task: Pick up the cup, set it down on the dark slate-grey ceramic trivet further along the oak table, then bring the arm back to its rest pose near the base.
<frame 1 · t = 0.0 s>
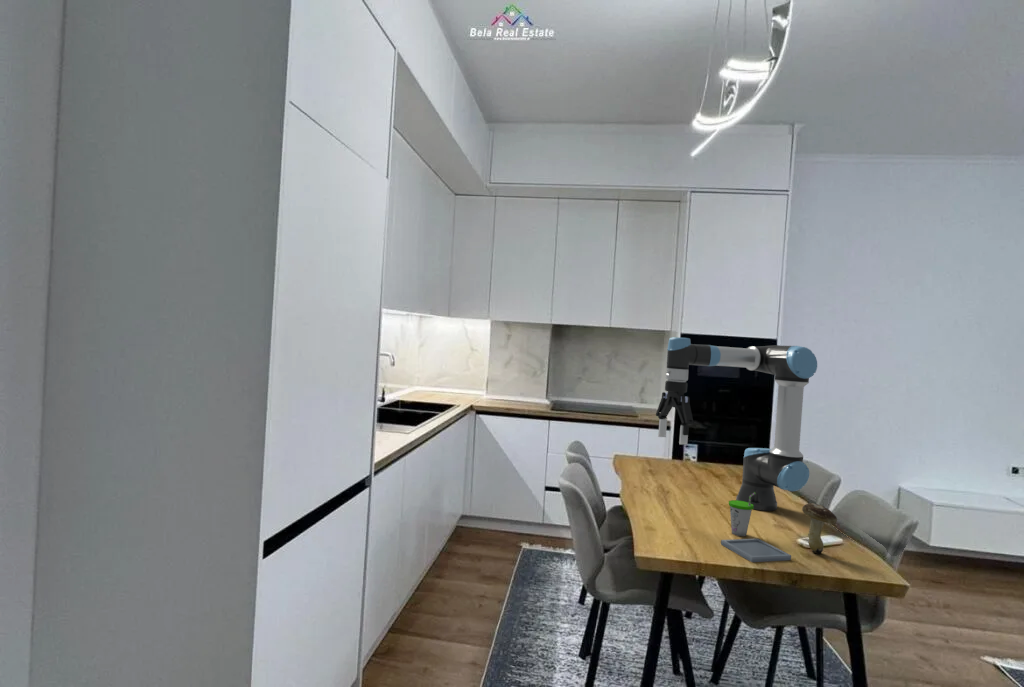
hand: (672, 440, 199), 28 cm above the table, fingers open, 13 cm apart
mushroom: (815, 553, 175), on the table
trivet: (754, 552, 172), on the table
cup: (738, 534, 188), on the table
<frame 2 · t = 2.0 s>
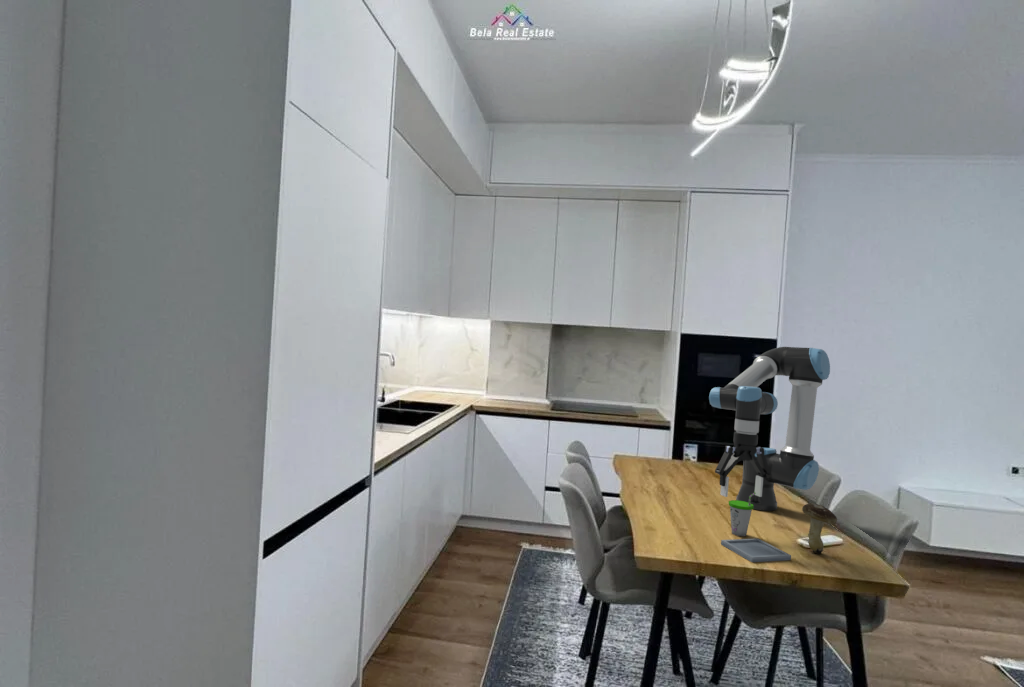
hand: (741, 495, 188), 13 cm above the table, fingers open, 13 cm apart
nothing on the table moved.
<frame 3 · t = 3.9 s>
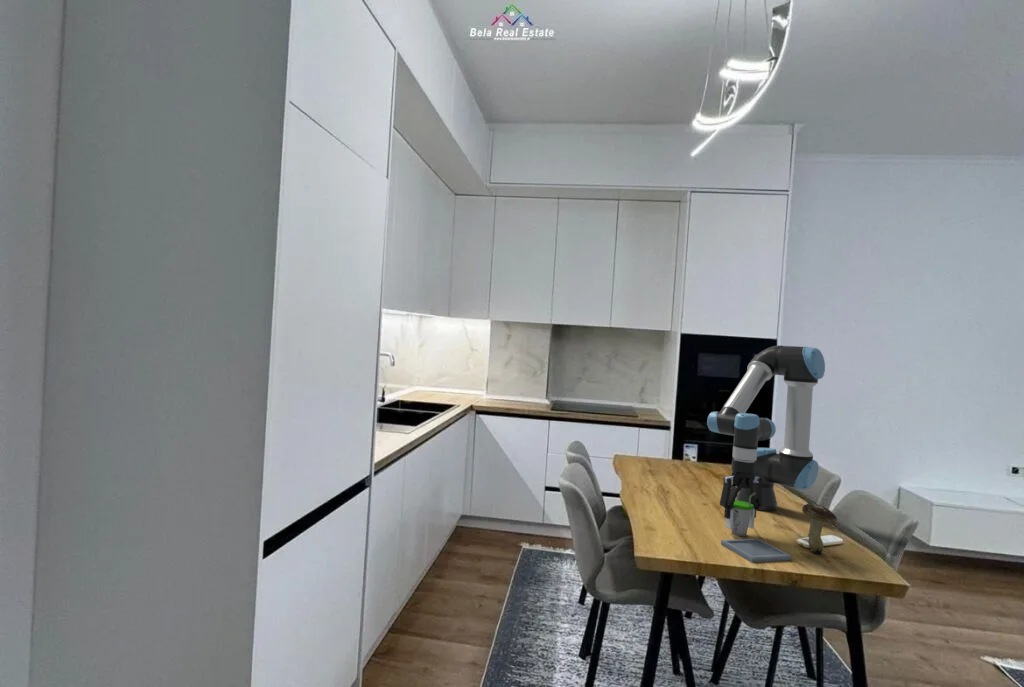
hand: (739, 527, 188), 2 cm above the table, fingers closed on cup, 8 cm apart
cup: (738, 534, 188), on the table, touching gripper
everything else where it was.
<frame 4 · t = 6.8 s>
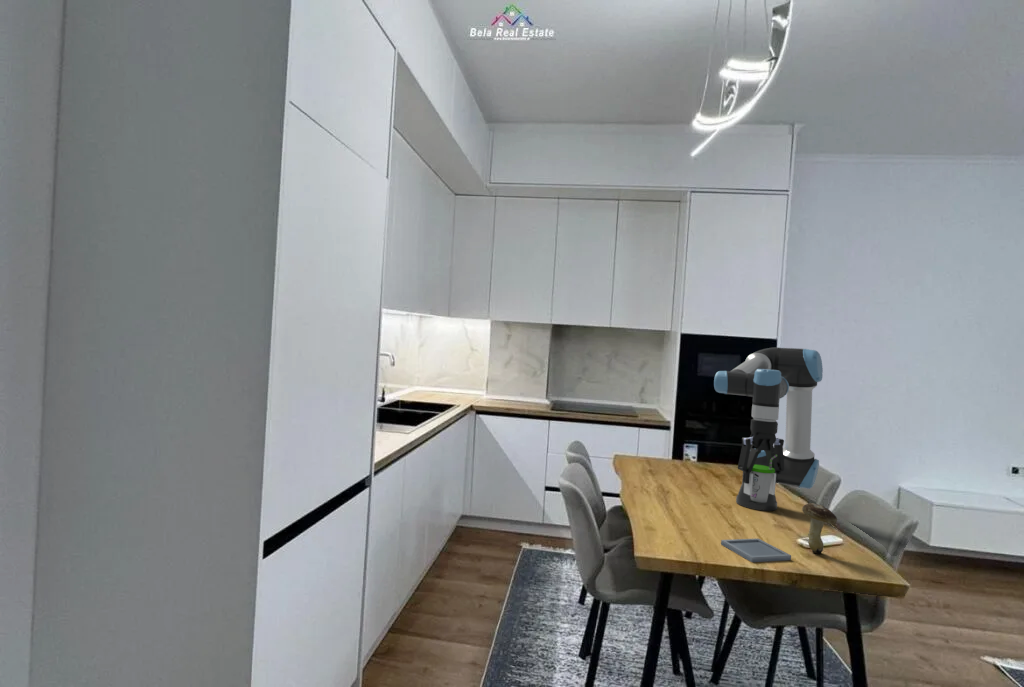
hand: (759, 493, 172), 18 cm above the table, fingers closed on cup, 8 cm apart
cup: (758, 501, 172), point 16 cm above the table, touching gripper
everything else where it was.
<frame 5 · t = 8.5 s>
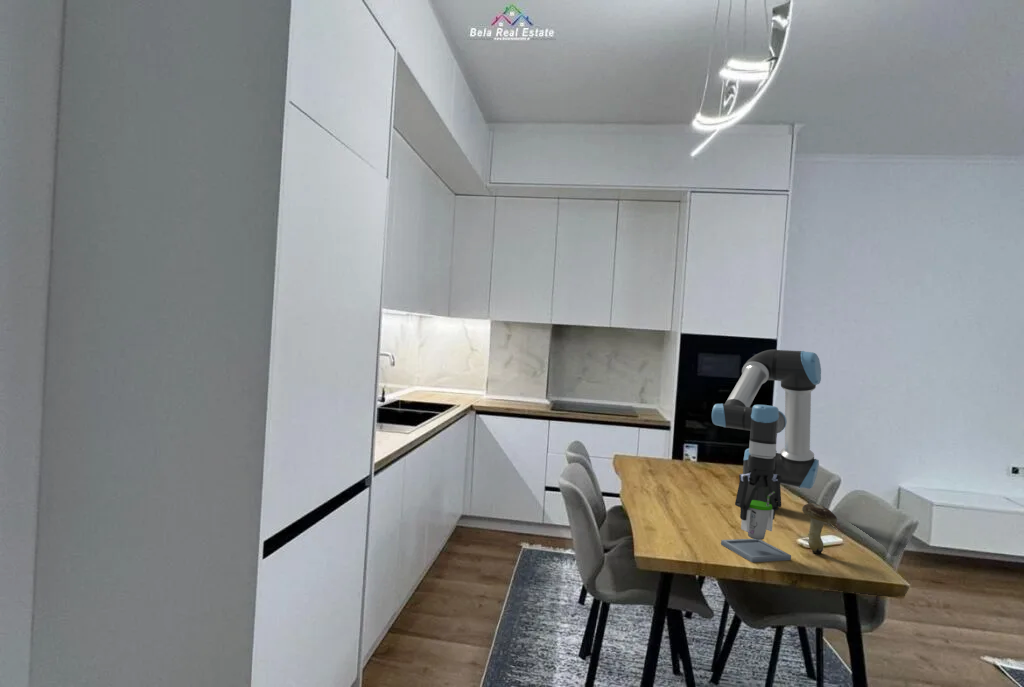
hand: (756, 529, 172), 7 cm above the table, fingers closed on cup, 8 cm apart
cup: (755, 537, 172), point 4 cm above the table, touching gripper
everything else where it was.
when the fingers open (4 cm above the table, at t = 9.9 s): cup drops 1 cm, resting on trivet.
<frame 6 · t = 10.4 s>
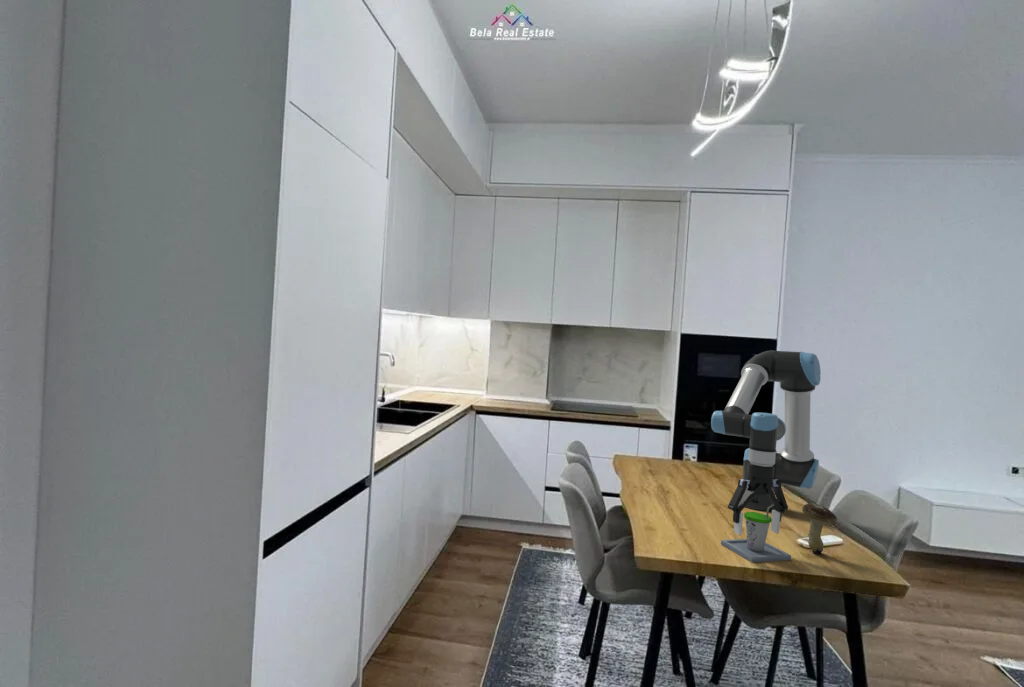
hand: (756, 532, 172), 6 cm above the table, fingers open, 13 cm apart
cup: (755, 549, 172), point 1 cm above the table, touching trivet
everything else where it was.
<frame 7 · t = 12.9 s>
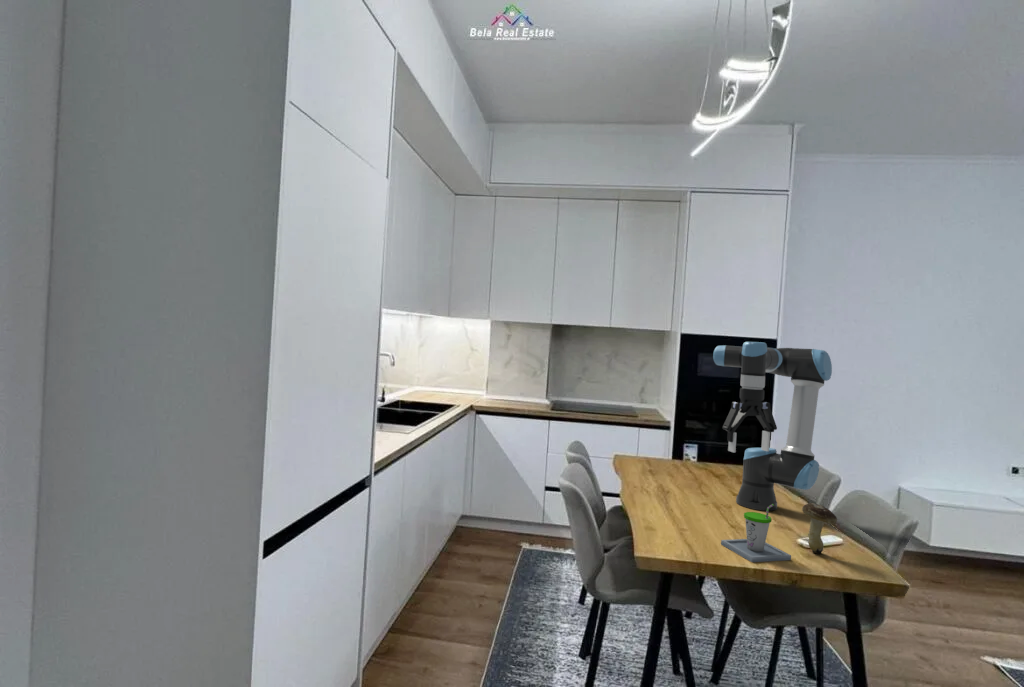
hand: (748, 451, 188), 28 cm above the table, fingers open, 13 cm apart
nothing on the table moved.
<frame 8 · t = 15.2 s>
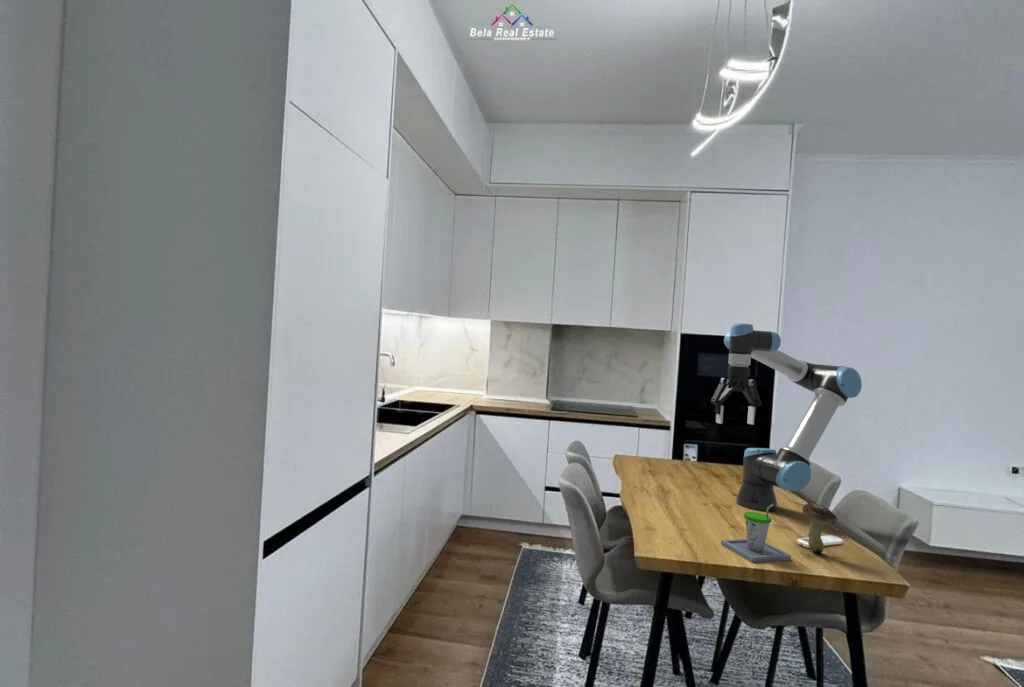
hand: (734, 423, 205), 35 cm above the table, fingers open, 13 cm apart
nothing on the table moved.
at the end: cup inside the target area on the trivet (0.1 cm from its centre), point 0.6 cm above the trivet's base; cup tilted 0°; cup touching trivet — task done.
